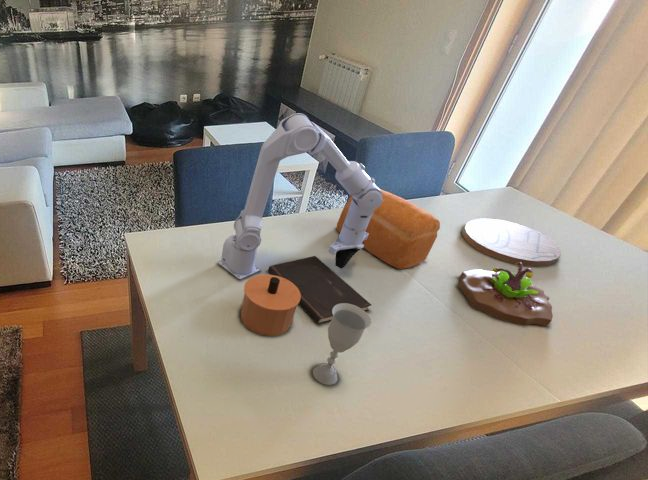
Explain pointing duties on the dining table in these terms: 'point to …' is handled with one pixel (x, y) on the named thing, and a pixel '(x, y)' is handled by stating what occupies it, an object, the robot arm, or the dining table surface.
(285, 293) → the pot lid
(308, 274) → the hardcover book
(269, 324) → the pot
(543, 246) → the trivet
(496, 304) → the plant
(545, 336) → the dining table surface
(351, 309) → the chalice
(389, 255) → the bread
